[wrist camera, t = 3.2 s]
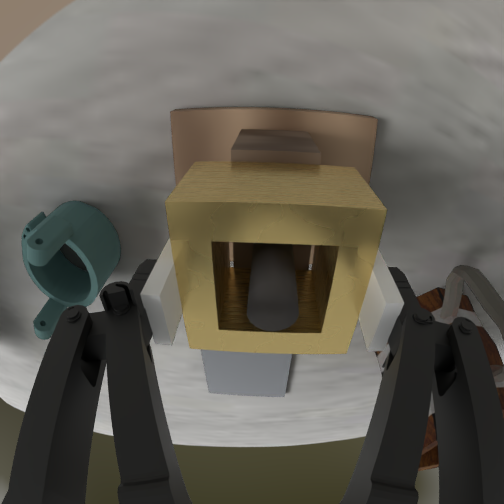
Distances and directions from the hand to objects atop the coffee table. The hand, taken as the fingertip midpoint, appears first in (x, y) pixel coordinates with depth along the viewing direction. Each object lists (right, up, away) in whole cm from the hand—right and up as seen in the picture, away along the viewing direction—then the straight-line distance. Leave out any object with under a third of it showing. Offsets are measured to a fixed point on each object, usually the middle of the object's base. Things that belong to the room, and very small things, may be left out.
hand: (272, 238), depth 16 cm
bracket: (-18, +1, +10) cm, 20 cm away
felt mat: (-2, -15, +19) cm, 24 cm away
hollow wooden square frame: (0, 0, 0) cm, 1 cm away
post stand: (0, +4, +6) cm, 8 cm away
